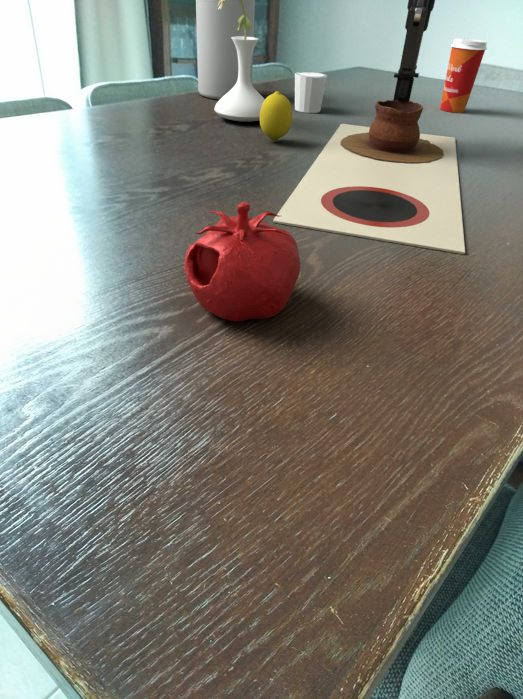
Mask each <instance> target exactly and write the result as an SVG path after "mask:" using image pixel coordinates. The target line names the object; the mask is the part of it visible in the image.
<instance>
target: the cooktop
mask: <svg viewBox="0 0 523 699" xmlns="http://www.w3.org/2000/svg"><path fill="white" fill-rule="evenodd" d="M369 129H370V126H363V125H354V124H347V123H340V125H339V126H338V128H337V129H336V130H335V132H334V133H333V135H332V136H331V137H330V139H329V140H328V141H327V143H326V145H325V146H324V147H323V149H321V151H320V153H319V155H318V156H317V157H316V159H315V160H314V161H313V163H312V165H310V167H309V169H308V170H307V172H306V173H305V175H304V176H303V177H302V179H301V180H300V181H299V183H298V184H297V186H296V187H295V189H294V190H293V191H292V193H291V194H290V195H289V197H288V198H287V200H286V201H285V203H284V204H283V205H282V206H281V208H280V210H279V211H278V212H277V214H276V215H279V216H280V217H278V216H274V218H273V220H272V223H274V224H278V225H285V226H289V227H290V226H291V227H297V228H302V229H308V230H314V231H315V230H316V231H321V232H325V233H326V232H327V233H334V234H338V235H345V236H349V237H350V236H351V237H357V238H363V239H368V240H369V239H370V240H376V241H381V242H387V243H393V244H399V245H405V246H411V247H417V248H423V249H430V250H434V251H435V250H436V251H441V252H447V253H454V254H458V255H465V254H466V246H465V236H464V234H465V233H464V223H463V213H462V212H463V211H462V201H461V190H460V189H461V188H460V180H459V179H460V178H459V167H458V156H457V145H456V137H454V136H452V137H451V136H443V135H435V134H429V133H428V134H427V133H422V132H420V138H419V139H423V140H428V141H429V142H430V143H431V144H434V145H436V146H438V147H439V148H440V149H443V150H442V151H444V152H443V154H444V155H443V156H442V157H441V158H438V159H436V160H432V161H431V162H419V163H415V162H413V163H410V162H407V163H406V162H396V161H389V160H387V161H386V160H382V159H375V158H372V157H369V156H362V155H361V154H358V153H356V152H352V151H349V149H346V148H343V147H344V146H342V145H341V140H342V139H343V138H345V137H347V136H349V135H354V134H360V133H367V132H369ZM353 186H363V187H376V188H383V189H388V190H393V191H397V192H400V193H403V194H406V195H409V196H411V197H413V198H415V199H417V200H419V201H421V202H422V203H423V204H424V205H426V207H427V208H428V210H429V213H430V214H429V217H428V218H427V219H426V220H425V221H424V222H422V223H419V224H417V225H413V226H407V227H395V228H389V227H375V226H368V225H362V224H358V223H354V222H351V221H347V220H344V219H342V218H339V217H337V216H335V215H333V214H332V213H330V212H329V211H327V210H326V209H325V208H324V207H323V205H322V203H321V198H322V196H323V195H324V194H325V193H327V192H329V191H331V190H334V189H337V188H343V187H353ZM281 215H282V216H281Z"/></svg>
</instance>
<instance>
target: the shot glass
mask: <svg viewBox="0 0 523 699" xmlns="http://www.w3.org/2000/svg"><path fill="white" fill-rule="evenodd" d="M327 79H328V75H327V74H326V73H321V72H317V71H297V72H295V73H294V110H295V111H297V112H299V113H305V114H316V113H320V112H321V109H322V104H323V100H324V95H325V89H326V85H327Z"/></svg>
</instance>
